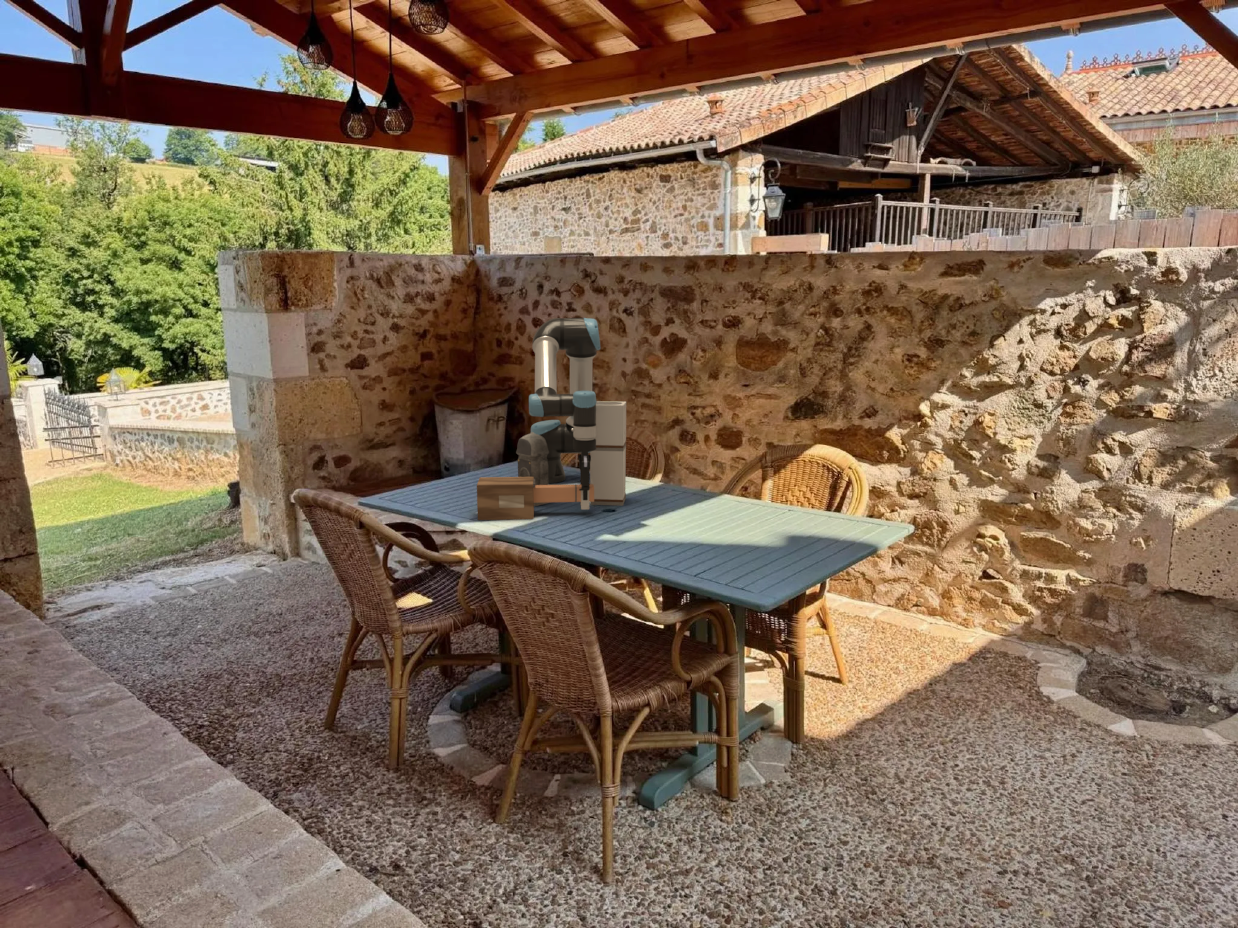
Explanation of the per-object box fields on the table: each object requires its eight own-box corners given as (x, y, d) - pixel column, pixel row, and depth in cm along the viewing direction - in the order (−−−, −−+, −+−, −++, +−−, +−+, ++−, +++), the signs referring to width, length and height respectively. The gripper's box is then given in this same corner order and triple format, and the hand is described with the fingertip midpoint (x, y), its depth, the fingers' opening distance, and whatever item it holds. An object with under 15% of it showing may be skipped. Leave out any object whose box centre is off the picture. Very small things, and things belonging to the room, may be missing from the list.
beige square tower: (625, 498, 297) (626, 401, 290) (622, 505, 286) (623, 405, 279) (594, 497, 298) (594, 401, 291) (590, 504, 287) (590, 404, 280)
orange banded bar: (518, 499, 275) (518, 485, 274) (593, 498, 277) (593, 484, 276) (518, 502, 271) (517, 487, 270) (594, 501, 273) (594, 486, 272)
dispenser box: (480, 510, 278) (479, 477, 276) (535, 509, 280) (535, 476, 278) (477, 520, 266) (476, 485, 264) (535, 519, 268) (534, 484, 266)
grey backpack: (535, 507, 282) (534, 436, 277) (511, 500, 293) (510, 431, 288) (557, 503, 289) (557, 433, 284) (533, 496, 299) (532, 428, 294)
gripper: (572, 434, 278) (572, 501, 283) (574, 442, 262) (574, 514, 266) (594, 434, 279) (594, 500, 284) (597, 442, 262) (597, 513, 267)
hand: (584, 507), depth 275 cm, fingers closed on orange banded bar, 4 cm apart
